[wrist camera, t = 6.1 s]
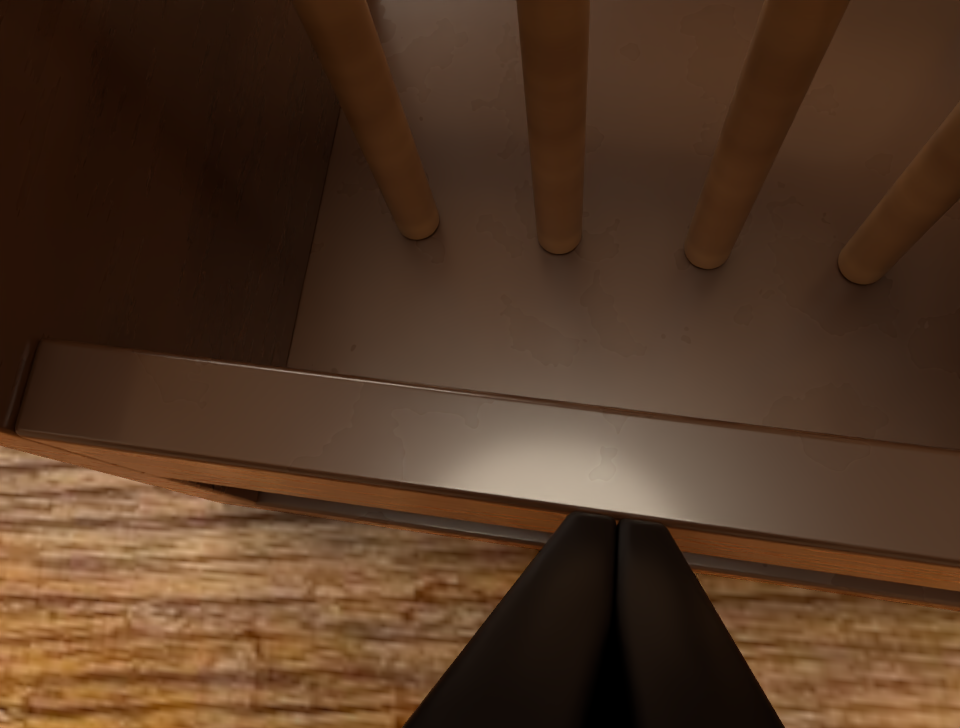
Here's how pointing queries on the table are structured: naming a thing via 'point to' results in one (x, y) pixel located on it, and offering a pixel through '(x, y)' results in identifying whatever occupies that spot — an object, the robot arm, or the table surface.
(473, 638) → the robot arm
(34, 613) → the table surface
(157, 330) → the walnut rack
